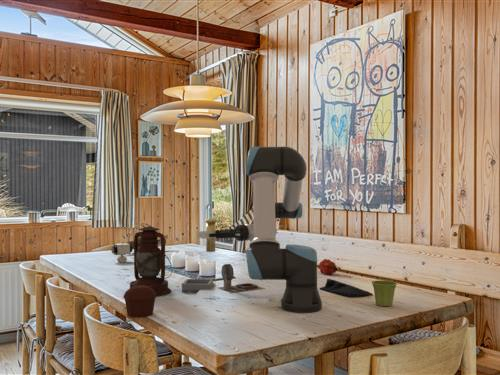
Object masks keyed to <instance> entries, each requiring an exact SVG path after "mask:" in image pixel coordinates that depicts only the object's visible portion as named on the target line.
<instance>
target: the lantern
mask: <svg viewBox="0 0 500 375" xmlns="http://www.w3.org/2000/svg"><path fill="white" fill-rule="evenodd" d="M145 225H147V226H145ZM140 226H141V228H139V229H138V232H135V234H134V236H133V241H134V249H133V266H134V267H133V271H134V278H135V280H133V281H130V282H129V289H130V288H131V287H133V286H138V285H144V286H148V287H150V288H152V289H153V290H154V291H155V293H156V295H157V296H156V298H157V297H164V296H168V295H170V294H171V293H172V289H170V288H169V281H168V280H166V279H168V278H170V277H171V276H172V274H173V271H171V272H170V274H169V276H167V277H165V276H166V259H167V260H168V261H169V264H170V268H171V269H173V265H172V263H171V261H170V259H169V257H168V256H167V255H166V244H167V240H166V239H165V237H164V236H165V235H164V234H163V233H161V232H158V231H159V230H160V228H157V227H154V226H151V225H150V224H148V223H143V222H141V223H140ZM139 237H141V240H138V238H139ZM158 238H159V239H161V245H160V247H159V245H158V241H160V240H159V239H158ZM138 241H139V242H140V244H139V243H138ZM138 244H139V245H140V248H139V249H138ZM158 276H159V277H158Z"/></svg>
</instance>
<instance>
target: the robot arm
mask: <svg viewBox="0 0 500 375" xmlns="http://www.w3.org/2000/svg"><path fill="white" fill-rule="evenodd" d="M247 153H248V154H247V158H246V160H247V161H246V169H245V174H246V175H247V176H249V180H250V181H251V182H252V183H253V185H252V186H253V187H252V189H253V192H252V193H253V198H252V200H253V205H252V206H253V210H252V211H253V212H252V214H253V217H252V218H253V223H246V224H237V225H236V226H235V228H229V229H228V228H226V229H215V232H206V230H202V231H201V230H200V231H197V232H196V238H197V239H199V238H200V239H201V240H202V239H203V240H205V239H207V238H215V239H227V238H231V239H236V241H238V242H245V241H249V242H250V243H249V244H248V245H249V247H248V248H245V257H246V264H247V273H248V277H249V278H250V279H252V280H257V281H263V280H265V281H266V280H267V281H269V280H270V281H271V280H273V281H276V280H277V281H285V289H284V291H283V292H284V293H283V296H282V299H281V308H282V310H284V311H288V312H292V313H293V312H294V313H315V312H319V311H321V310H322V309H323V308H322V307H323V304H322V303H323V302H322V299H321V296H320V293H319V289H318V253H317V250H316V249H315V248H313V247H310V246H306V245H299V244H294V243H293V244H286V246H285V248H281V243H280V242H279V241H278V240H277V238H276V235H277V226H276V219H291V220H292V219H293V220H295V219H301V218H302V217H303V204H302V203H301V202H300V199H301V195H302V194H301V193H302V192H301V191H302V187H303V180H304V179H305V177H306V175H307V169H308V168H307V164H306V161H305V159H304V157H303V156H302V154H301V153H300V152H299V151H297V150H296V149H295V148H293V147H290V146H262V145H261V146H260V145H259V146H252V147H250V148H249V150H248V152H247ZM279 176H284V186H283V197H282V202H278V201H277V202H276V189H275V188H276V182H277V181H278V180H279Z"/></svg>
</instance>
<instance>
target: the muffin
mask: <svg viewBox="0 0 500 375" xmlns="http://www.w3.org/2000/svg"><path fill="white" fill-rule="evenodd" d="M156 296H157V295H156V293H155V291H154V290H153V289H152V288H150V287H148V286H144V285H138V286H133V287H131V288H130V287H129V288H128V289H127V290H126V291H125V292H124V294H123V297H122V298H123V299H124V302H125V309H126V313H127V314H126V316H128V317H130V318H138V319H139V318H146V317H151V316H152V315H153V314H154V308H155V302H156V298H157V297H156Z"/></svg>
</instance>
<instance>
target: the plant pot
mask: <svg viewBox="0 0 500 375" xmlns="http://www.w3.org/2000/svg"><path fill="white" fill-rule="evenodd" d="M371 284H372V287H373V290H374V299H375V300H374V302H375V305H377V306H378V305H380V306H379V307H383V306H385V307H389V306H390V307H392V306H393V304H394V303H393V302H394V297H395V289H396V288H397V285H398V282H395V281H391V280H383V279H382V280H379V279H378V280H372V281H371Z"/></svg>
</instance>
